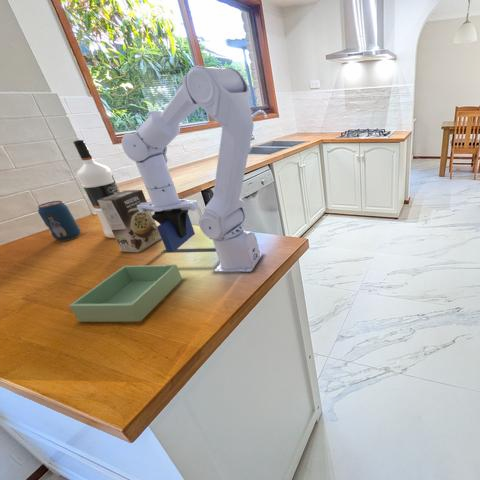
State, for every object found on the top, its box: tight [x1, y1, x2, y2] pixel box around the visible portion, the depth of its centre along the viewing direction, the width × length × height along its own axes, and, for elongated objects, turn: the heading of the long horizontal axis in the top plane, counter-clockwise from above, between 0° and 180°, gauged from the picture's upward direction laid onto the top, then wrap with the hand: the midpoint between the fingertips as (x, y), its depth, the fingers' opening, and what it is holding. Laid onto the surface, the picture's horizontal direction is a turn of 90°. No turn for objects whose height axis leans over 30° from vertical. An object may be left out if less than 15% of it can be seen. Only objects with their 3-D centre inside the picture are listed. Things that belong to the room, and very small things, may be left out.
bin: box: [68, 264, 183, 323], centre depth 63 cm, size 13×14×4 cm
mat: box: [160, 247, 217, 254], centre depth 78 cm, size 20×10×1 cm, turn 86°
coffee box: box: [97, 189, 162, 253], centre depth 84 cm, size 9×6×16 cm
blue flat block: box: [157, 213, 196, 252], centre depth 74 cm, size 2×10×7 cm, turn 176°
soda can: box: [37, 200, 82, 242], centre depth 95 cm, size 7×7×12 cm
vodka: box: [72, 139, 121, 239], centre depth 90 cm, size 9×9×30 cm
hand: (179, 236), depth 75 cm, fingers closed on blue flat block, 1 cm apart
